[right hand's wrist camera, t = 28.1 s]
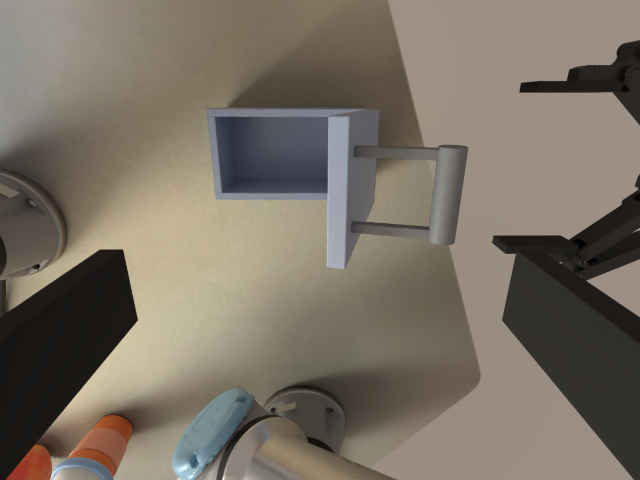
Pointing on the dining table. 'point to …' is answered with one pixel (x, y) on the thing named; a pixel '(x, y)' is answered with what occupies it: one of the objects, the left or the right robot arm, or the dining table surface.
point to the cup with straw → (97, 452)
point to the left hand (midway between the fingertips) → (512, 171)
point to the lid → (359, 185)
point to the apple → (33, 465)
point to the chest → (271, 152)
